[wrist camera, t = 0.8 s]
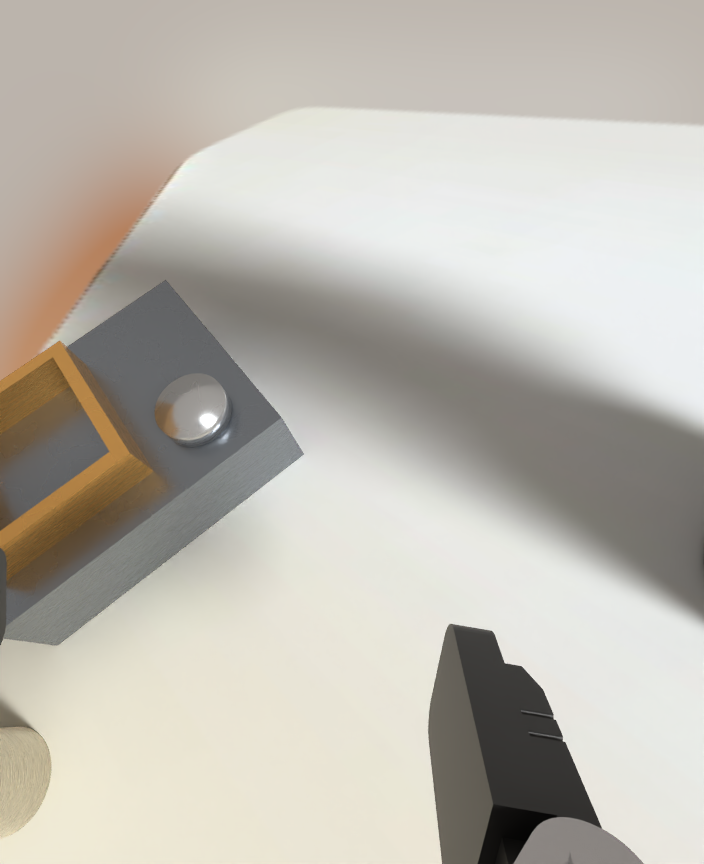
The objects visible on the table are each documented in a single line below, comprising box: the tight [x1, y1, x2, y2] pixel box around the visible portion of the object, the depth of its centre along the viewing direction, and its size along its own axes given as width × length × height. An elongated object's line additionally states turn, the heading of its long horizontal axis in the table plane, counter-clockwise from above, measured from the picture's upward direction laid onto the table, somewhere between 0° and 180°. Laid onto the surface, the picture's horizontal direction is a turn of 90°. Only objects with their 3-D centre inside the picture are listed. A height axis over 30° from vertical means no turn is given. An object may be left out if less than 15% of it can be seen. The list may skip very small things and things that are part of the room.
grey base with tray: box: [0, 280, 303, 645], centre depth 32 cm, size 18×14×8 cm
